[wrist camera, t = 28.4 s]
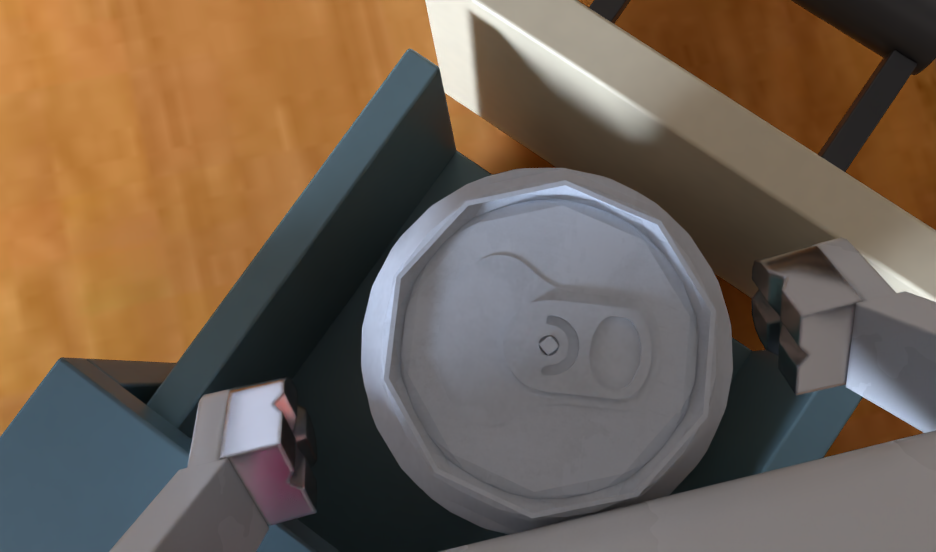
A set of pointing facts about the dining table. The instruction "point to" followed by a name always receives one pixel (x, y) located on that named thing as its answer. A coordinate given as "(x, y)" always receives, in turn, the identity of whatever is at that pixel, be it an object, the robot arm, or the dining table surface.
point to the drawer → (564, 146)
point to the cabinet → (97, 461)
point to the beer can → (546, 349)
